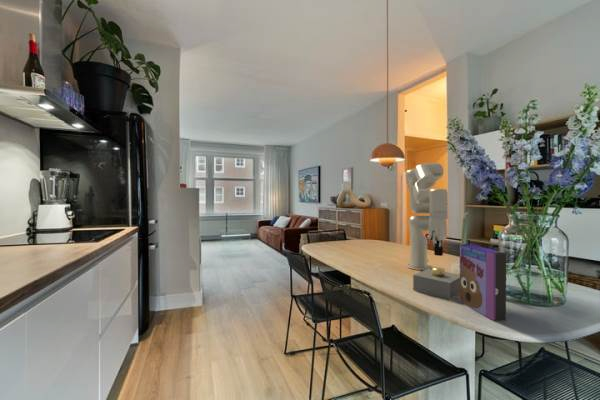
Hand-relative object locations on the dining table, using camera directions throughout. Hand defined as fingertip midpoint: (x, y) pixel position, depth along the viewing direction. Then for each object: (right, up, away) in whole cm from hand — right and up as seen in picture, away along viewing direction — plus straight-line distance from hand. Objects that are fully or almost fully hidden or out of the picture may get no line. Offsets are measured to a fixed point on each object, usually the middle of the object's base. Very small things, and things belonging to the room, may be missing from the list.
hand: (438, 255), depth 126 cm
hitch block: (0, -16, +1) cm, 16 cm away
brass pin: (0, -15, +1) cm, 15 cm away
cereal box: (+5, -17, -21) cm, 28 cm away
